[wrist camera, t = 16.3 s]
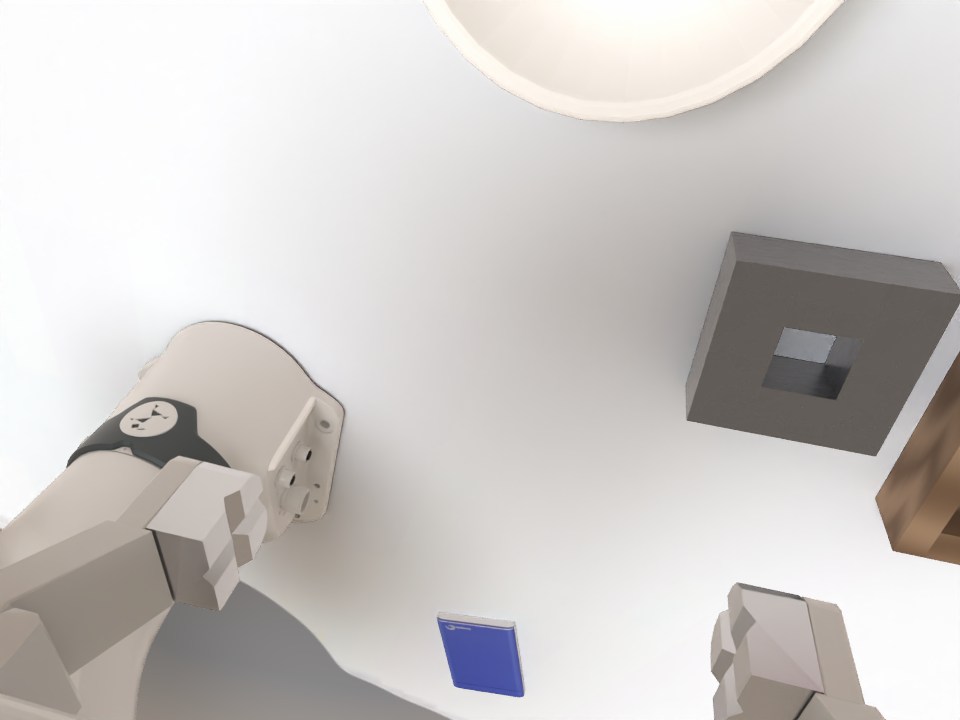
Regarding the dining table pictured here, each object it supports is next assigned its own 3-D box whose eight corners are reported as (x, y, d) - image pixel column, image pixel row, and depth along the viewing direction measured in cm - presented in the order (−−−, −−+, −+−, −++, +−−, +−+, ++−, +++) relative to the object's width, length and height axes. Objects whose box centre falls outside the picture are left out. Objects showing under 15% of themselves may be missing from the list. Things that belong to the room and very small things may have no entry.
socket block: (862, 417, 47) (875, 456, 44) (685, 385, 49) (686, 420, 46) (940, 262, 40) (964, 295, 37) (731, 231, 42) (736, 260, 39)
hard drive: (435, 620, 71) (453, 687, 77) (512, 630, 69) (523, 698, 75) (439, 607, 72) (456, 674, 79) (515, 617, 70) (526, 685, 77)
